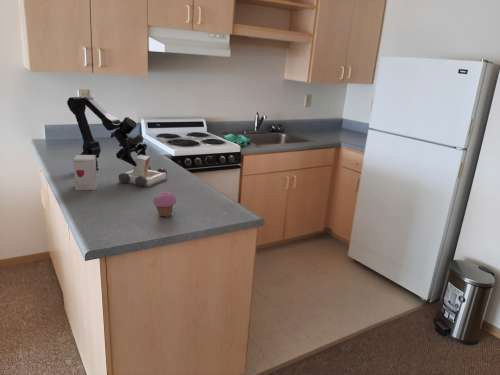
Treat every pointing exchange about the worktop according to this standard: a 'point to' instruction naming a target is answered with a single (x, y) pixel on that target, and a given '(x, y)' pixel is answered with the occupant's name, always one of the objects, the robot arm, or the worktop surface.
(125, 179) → the chassis
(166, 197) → the cupcake
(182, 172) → the worktop surface
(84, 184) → the supplement box
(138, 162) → the small box
